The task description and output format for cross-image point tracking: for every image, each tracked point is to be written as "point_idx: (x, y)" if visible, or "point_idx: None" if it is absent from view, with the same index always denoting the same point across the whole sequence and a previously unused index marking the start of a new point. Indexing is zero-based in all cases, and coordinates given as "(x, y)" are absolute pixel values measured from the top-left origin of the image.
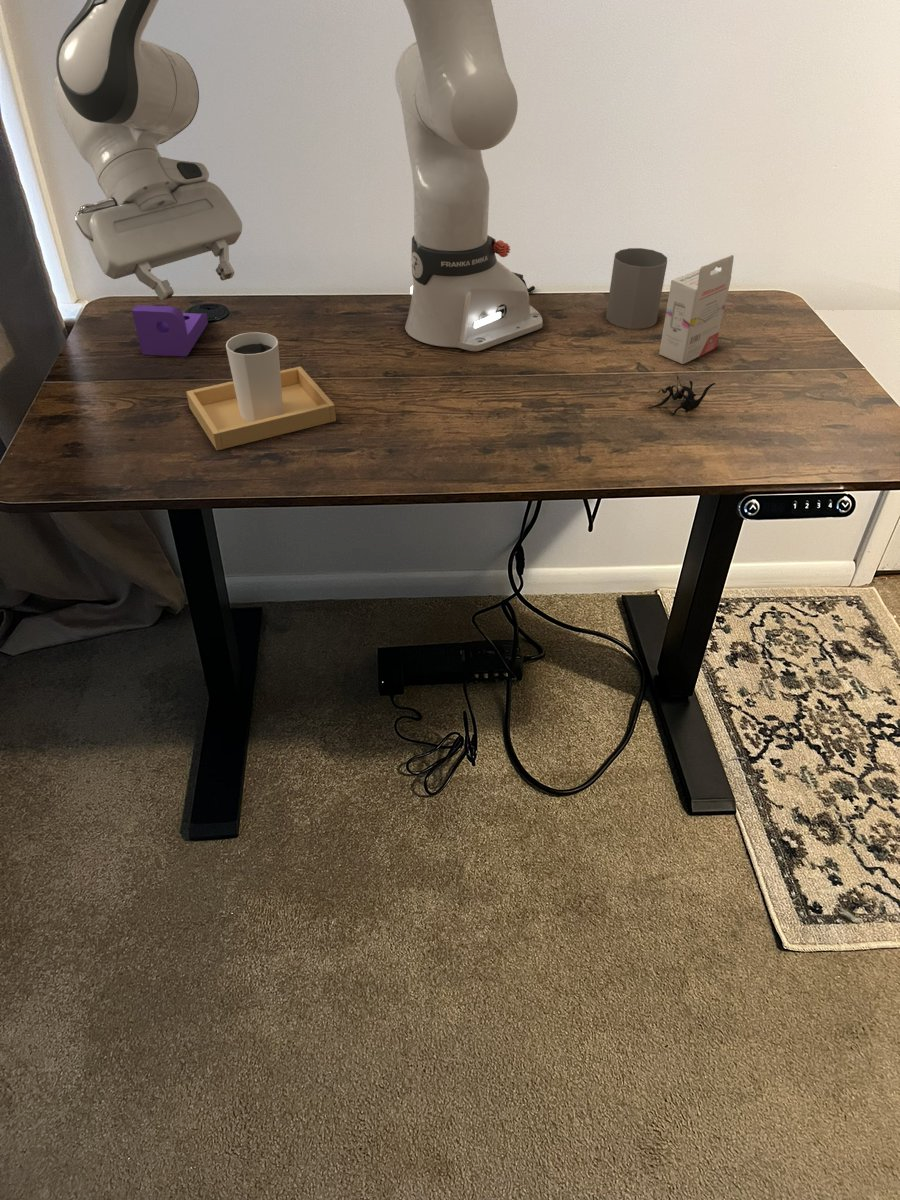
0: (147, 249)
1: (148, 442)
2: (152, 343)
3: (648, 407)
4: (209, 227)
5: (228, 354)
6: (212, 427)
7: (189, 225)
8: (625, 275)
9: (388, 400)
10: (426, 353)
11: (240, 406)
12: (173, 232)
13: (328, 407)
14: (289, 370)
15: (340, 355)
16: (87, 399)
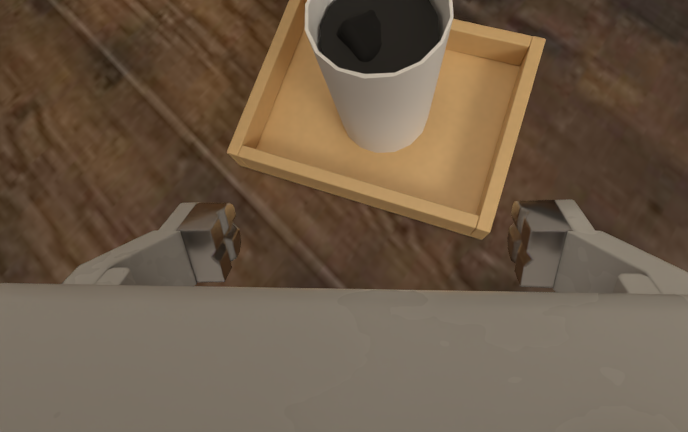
0: (657, 326)
1: (629, 175)
2: None
3: None
4: (46, 333)
5: (445, 41)
6: (533, 60)
7: (161, 395)
8: None
9: (187, 7)
10: (2, 93)
11: (431, 103)
12: (347, 383)
13: None
14: (256, 151)
15: (105, 203)
16: None
